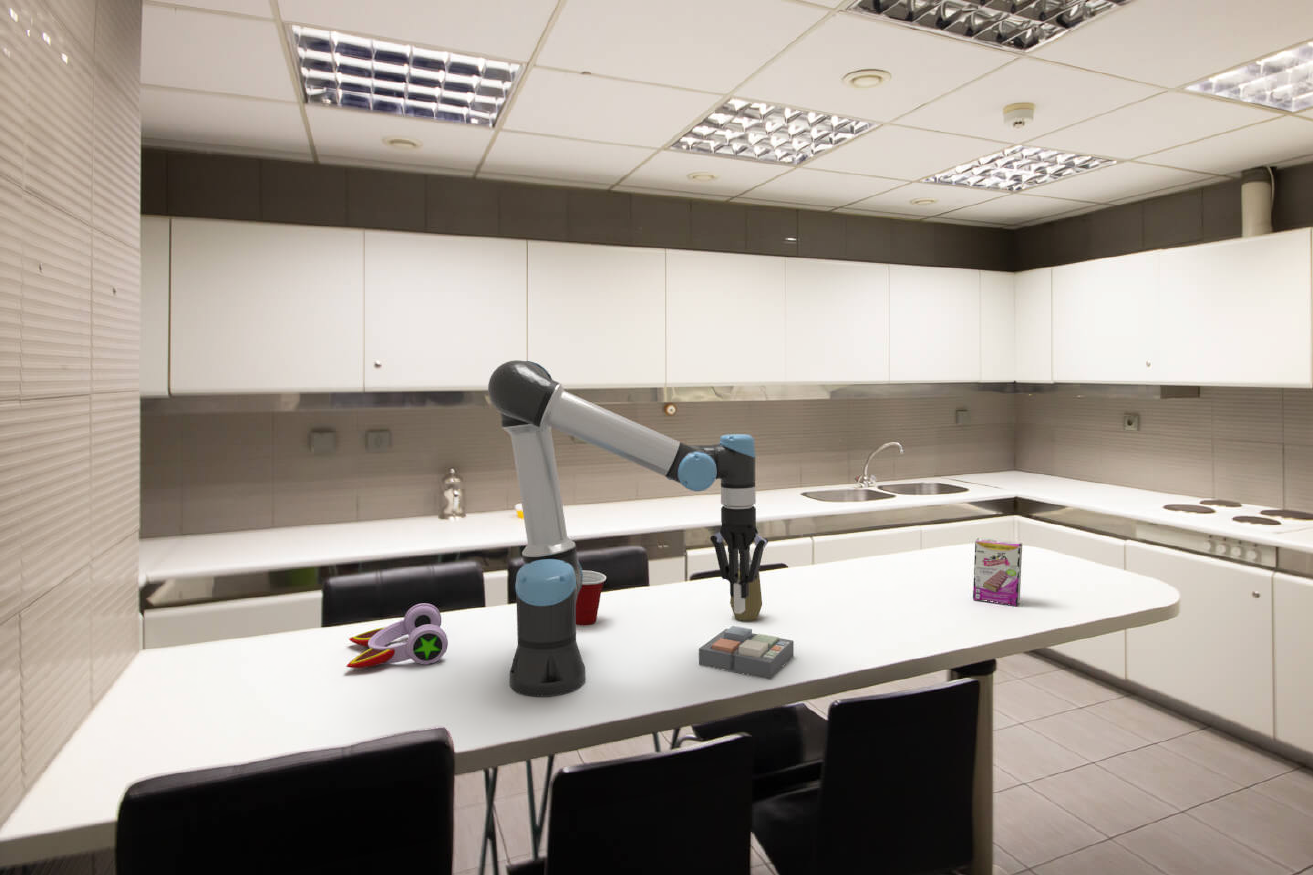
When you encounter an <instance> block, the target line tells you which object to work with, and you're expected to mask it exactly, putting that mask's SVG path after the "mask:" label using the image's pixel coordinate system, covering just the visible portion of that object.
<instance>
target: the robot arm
mask: <svg viewBox="0 0 1313 875" xmlns="http://www.w3.org/2000/svg"><path fill="white" fill-rule="evenodd" d="M488 380H489V381H488V385H487V386H488V387H487V392H488V397H489V399H490V402H491V404H492V406H493V407H494V409H496V411H498V412H499V416H500V420H501V421H500V422H501V427H502V429H503V430H504V431H506V433H508V434H509V435H510V437H511V446H512V450H513V452H512V453H513V457H514V463H515V470H516V478H517V482H518V489H519V490H518V491H519V496H520V501H521V507H522V508H521V510H522V515H523V521H524V526H525V527H524V528H525V534H526V541H527V544H526V546H525V547H524V549H523V550H522V552H521V554H522V559H523V560H522V561H523V566H521V567H520V568H519V569H518V571H517V573H516V577H515V578H516V581H515V585H514V586H515V587H514V588H515V589H514V590H515V594H516V623H517V624H516V628H517V629H516V630H517V632H516V633H517V647H516V650H515V653H514V656H513V660H512V663H511V667H510V670H509V675H508V676H509V686H510V688H511V689H512V690H513V691H515V692H516V693H518V694H521V695H525V696H532V697H550V696H551V697H552V696H558V695H563V694H568V693H570V692H573V691H575V690H577V689H578V688H580V687H581V686H582V685H584V683H585V682H586V677H587V676H586V665H585V664H584V662H583V660H582V659H583V658H582V655H581V652H580V650H579V646H578V643H577V625H576V601H577V597H578V594H579V591H580V589H581V586H582V581H583V572H582V570H583V568H582V565H581V563H580V562H579V559H578V554H577V553H578V552H577V546H576V542H575V541H573V540H572V539H570V538H569V536H568V534H567V533H568V532H567V526H566V521H565V519H566V518H565V513H564V508H563V507H564V506H563V500H562V495H561V494H562V493H561V489H560V480H559V475H558V468H557V467H558V466H557V460H556V453H555V448H554V447H555V446H554V441H553V440H554V439H553V436H552V429H555V430H557V431H560V432H562V433H564V434H566V435H569V436H571V437H573V438H575V439H578V440H580V441H583V442H585V443H588V444H589V445H591V446H593V447H597V448H598V449H601V450H603V451H606V452H608V453H610V454H613V455H615V456H617V457H619V458H622V459H624V460H627V461H628V462H631V463H634V464H635V465H638V466H640V467H642V468H644V469H647V470H649V471H652V472H654V473H657V474H659V475H661V476H663V477H665V478H667V480H669V481H673V482H676V483H678V484H681V485H682V486H683V487H684V488H685V489H687V490H689V491H693V492H703V491H705V490H707V489H709V488H710V487H712V485H713V484H714V483H715V481H716V480H720V505H722V506H721V508H720V516H721V517H720V521H721V526H720V529H719V532H718V533H715V534H713V535H711V536H710V537H709V539H710V541H711V543H712V545H713V546H714V550H715V555H716V559H717V562H718V567H719V571H720V576H721V579H722V580H726V581H728V582H729V595H730V598H731V597H734V613H737V614H741V613H742V612H744V611H745V599H746V598H747V597H748V595H749V583H751V582H753V581H755V580H756V579H757V576H758V572H759V573H760V566H761V563H762V557H763V553H764V549H765V547H766V546H767V545H768V543H769V540H768V539H767V537H764V538H763V537H762V536H760V535H759V531H758V529H757V525H756V524H757V517H756V516H757V510H756V507H755V506H754V505H755V504H756V503H757V502H756V497H757V496H756V495H757V494H756V457H757V455H756V448H755V446H756V444H755V439H754V437H753V436H752V435H750V434H743V433H742V434H741V433H740V434H737V433H736V434H724V435H721V436H720V439H719V442H718V443H719V444H718V443H716V444H689V445H688V444H685V443H683V442H680V441H679V440H676V439H674V438H673V437H669V436H667V435H665V434H662V433H660V432H658V431H656V430H654V429H651V428H649V427H647V426H645V425H642V424H640V423H638V422H636V421H633V420H630V419H629V418H626V417H624V416H622V415H620V414H617V413H615V412H613V411H610V410H608V409H606V408H604V407H602V406H599V405H597V404H595V403H593V402H590V401H589V400H586V399H584V398H582V397H579V396H577V395H574V394H573V393H570V392H569V391H566V390H564V387H563V385H562V383H560V382H559V381H556V380H554V379H553V378H552V376H551V374H550V373H549V372H548V369H546V368H545V367H543V366H542V365H541V364H539V363H537V362H534V361H531V360H530V361H529V360H527V361H526V360H510V361H506V362H504V363H502V364H500V365H498V367H496V369H495V370H494V371H493V372H492V374H491V375H490V378H489V379H488ZM724 541H725V543H726V544H727V551H726V547H725V543H724ZM753 542H754V546H755V548H754V549H753V555H752V557H751V560H752V562H751V567H750V571H749V552H750V549H751V545H752V543H753ZM727 553H728V555H727ZM739 560H740V577H738V561H739ZM739 578H740V581H738V579H739ZM734 613H733V614H734Z"/></svg>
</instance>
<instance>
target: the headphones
mask: <svg viewBox="0 0 1313 875" xmlns="http://www.w3.org/2000/svg"><path fill="white" fill-rule="evenodd" d="M441 625H442V614H441V613H440V611H439V609H438V607H436V606H435V605H433V604H431V603H428V602H427V603H425V602H424V603H417V604H415V605H413V606H412V607H410V608H409V609H408V610H407V612H406V613H405V615H404V617H403V619H401V620H398V621H397V622H394V623H391V624H389V625H387V626H385V627H384V626H383V627H379V628H374V629H371V630H369V631H365V632H363V633H359V634H357V635H355V636H352V637H349V638H348V641H350V642H352V643H353V644H356V645H358V646H362V647H368V648H369V649H367V650H365V651H363V652H362V653H360V654H359V655H357V656H356V657H354V658H353V659H352V660H350V661H349V662H348V663H347V665H346V666H345V667H346V668H350V669H364V668H371V667H375V666H379V665H381V664H385V663H386V664H396V663H401V662H404V661H405V662H406V661H408V660H412V661H413V662H415V663H416V664H419V663H420V664H419V665H430V664H429V663H432V664H433V663H436V662H439V660H441V658H443V657H444V655H445V654H446V652H447V650H448V645H449V641H448V640H449V639H448V636H447V634H446V632H445V630H444V629H443V628H441ZM407 635H408V637H407V640H406V642H405V643H404V642H403V643H400V644H396V645H391V646H386V645H388V644H390V643H391V642H394V641H395V640H398V639H399V638H402V637H405V636H407Z"/></svg>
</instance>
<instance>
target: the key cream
mask: <svg viewBox="0 0 1313 875" xmlns="http://www.w3.org/2000/svg"><path fill="white" fill-rule="evenodd" d="M767 652H768V643H764V642H759V641H753V640H748V639H747V640H746V641H745V642H744V643H742V644H741V645H740V646H739V654H741V655H746V656H752V657H757V658H761V657H762V656H763V655H765V654H766V653H767Z"/></svg>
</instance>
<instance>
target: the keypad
mask: <svg viewBox="0 0 1313 875" xmlns="http://www.w3.org/2000/svg"><path fill="white" fill-rule="evenodd" d="M728 629H729V628H725V629H723V630H722V631H721V632H720V633H718V634H717V635H716V636H714V637H713V638H711V639H710V640H708V641H707V642H705V643H704V644H703V645H702V646H700V647H699V648H698V665H699V666H705V667H708V666H710V667H709V668H713V667H715V668H714V669H717V668H719V669H718V670H722V669H724V670H723V671H727V670H728V671H727V672H732V671H733V672H732V673H737V674H741V673H744V674H743V675H746V674H749V675H748V676H751V675H752V677H756V676H757V678H761V679H765V678H766V680H772V679H773V678H774V676H775V675H777V674H778V672H780V671H781V669H783V667H784V666H785V665H786V664H787V663H788V662H790V661H791V659H793V657H794V649H795V648H794V646H795V644H794V643H795V642H794V640H791V639H787V638H781V637H778V643H777V644H776V645H775V646H773V647H772V648H769V647H768V652H767V653H766V654H765V655H763V656H762V657H761V658H757V657H752V656H746V655H741V654H739V648H738V649H737V650H735V651H734V652H733V653H731V652H726V651H721V650H715V649H712V644H714V643H715V642H716V641H718V640H719V639H720V638H723V639H724V632H725V631H726V630H728ZM758 634H759V633H753V632H752V637H751V638H750V639H749V640H752V639H753V638H754V637H755V636H757V635H758ZM741 644H742V642H740V645H741ZM786 662H787V663H786ZM785 663H786V664H785ZM784 664H785V665H784ZM783 665H784V666H783ZM782 666H783V667H782Z"/></svg>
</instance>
